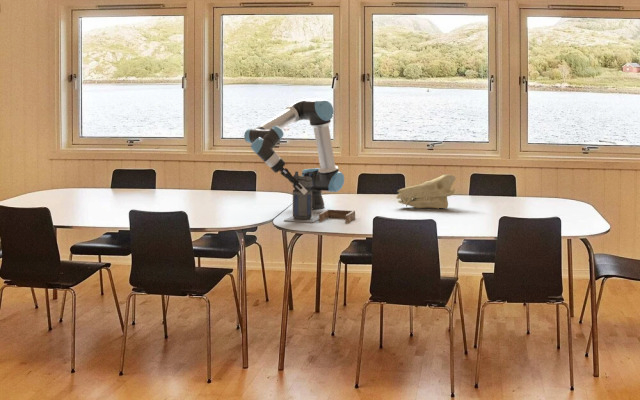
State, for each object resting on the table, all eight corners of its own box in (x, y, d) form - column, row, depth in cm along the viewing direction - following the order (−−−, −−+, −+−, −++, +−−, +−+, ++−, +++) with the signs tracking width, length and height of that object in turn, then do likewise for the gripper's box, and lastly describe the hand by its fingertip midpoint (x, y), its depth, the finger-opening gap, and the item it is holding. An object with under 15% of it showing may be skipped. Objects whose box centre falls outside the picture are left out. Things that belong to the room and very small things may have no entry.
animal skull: (457, 209, 440) (458, 175, 438) (398, 210, 436) (399, 175, 433) (449, 206, 455) (450, 173, 453) (392, 206, 451) (393, 173, 449)
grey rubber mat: (294, 216, 405) (294, 215, 405) (322, 218, 401) (322, 216, 401) (283, 221, 388) (283, 220, 388) (313, 222, 384) (313, 221, 384)
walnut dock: (327, 216, 405) (327, 209, 405) (354, 218, 401) (355, 210, 401) (319, 221, 388) (319, 214, 388) (347, 223, 384) (347, 215, 384)
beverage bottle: (318, 218, 396) (319, 170, 393) (301, 220, 387) (302, 172, 383) (304, 216, 403) (305, 169, 400) (287, 218, 393) (287, 171, 390)
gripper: (267, 165, 400) (295, 193, 404) (273, 169, 375) (302, 199, 380) (277, 156, 400) (305, 183, 405) (283, 159, 376) (312, 189, 380)
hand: (303, 191), depth 392 cm, fingers open, 13 cm apart
